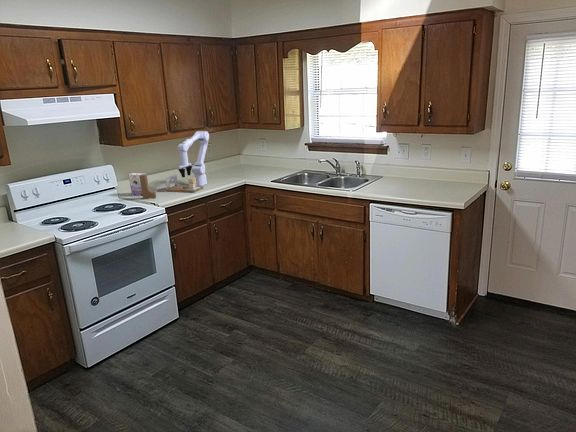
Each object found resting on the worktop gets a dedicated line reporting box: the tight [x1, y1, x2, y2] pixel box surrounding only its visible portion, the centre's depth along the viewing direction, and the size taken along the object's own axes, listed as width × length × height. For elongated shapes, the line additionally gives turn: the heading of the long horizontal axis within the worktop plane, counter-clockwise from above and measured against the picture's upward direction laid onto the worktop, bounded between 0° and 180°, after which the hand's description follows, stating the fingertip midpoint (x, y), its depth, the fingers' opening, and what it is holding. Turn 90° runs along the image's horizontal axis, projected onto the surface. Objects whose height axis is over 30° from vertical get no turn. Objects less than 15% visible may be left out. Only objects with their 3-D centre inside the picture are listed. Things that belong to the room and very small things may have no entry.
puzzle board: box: [164, 185, 204, 194], centre depth 358 cm, size 14×27×2 cm, turn 68°
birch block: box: [187, 177, 197, 189], centre depth 353 cm, size 4×4×8 cm
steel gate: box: [165, 174, 179, 189], centre depth 360 cm, size 12×2×9 cm, turn 158°
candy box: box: [128, 172, 144, 196], centre depth 350 cm, size 14×6×16 cm, turn 59°
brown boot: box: [139, 173, 157, 200], centre depth 336 cm, size 9×4×18 cm, turn 95°
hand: (186, 176), depth 357 cm, fingers open, 7 cm apart
